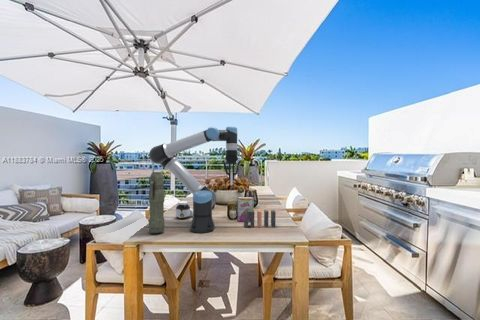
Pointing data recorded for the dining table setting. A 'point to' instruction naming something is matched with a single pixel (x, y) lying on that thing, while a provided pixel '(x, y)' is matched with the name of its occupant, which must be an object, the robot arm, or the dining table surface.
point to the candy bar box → (244, 207)
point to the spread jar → (183, 210)
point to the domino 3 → (259, 218)
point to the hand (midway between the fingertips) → (231, 185)
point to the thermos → (156, 203)
